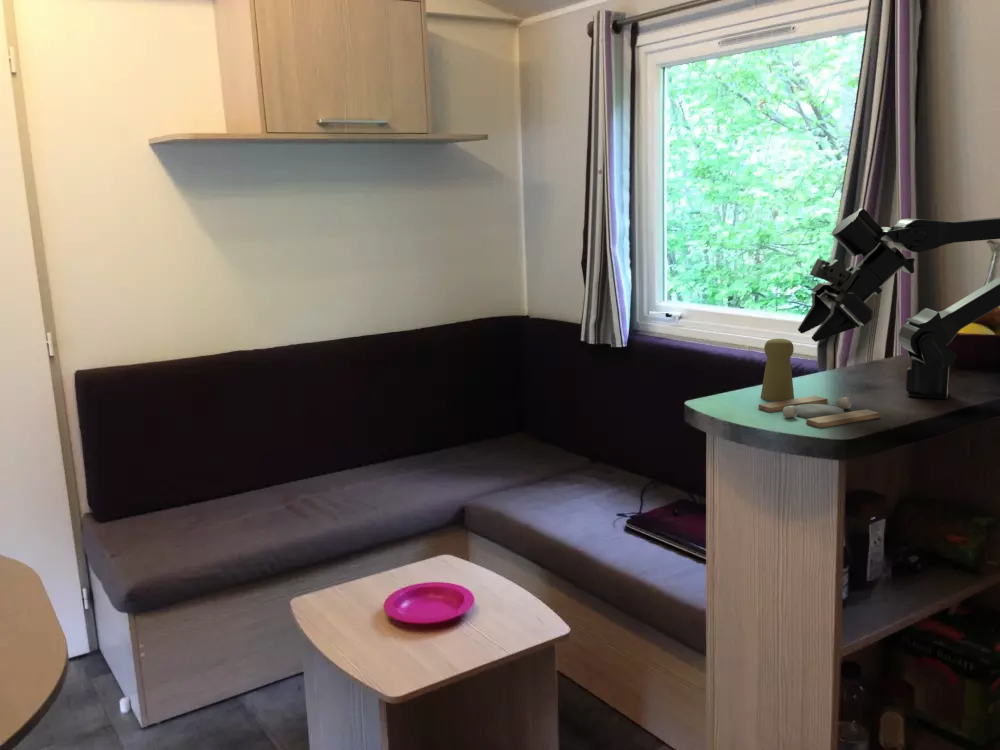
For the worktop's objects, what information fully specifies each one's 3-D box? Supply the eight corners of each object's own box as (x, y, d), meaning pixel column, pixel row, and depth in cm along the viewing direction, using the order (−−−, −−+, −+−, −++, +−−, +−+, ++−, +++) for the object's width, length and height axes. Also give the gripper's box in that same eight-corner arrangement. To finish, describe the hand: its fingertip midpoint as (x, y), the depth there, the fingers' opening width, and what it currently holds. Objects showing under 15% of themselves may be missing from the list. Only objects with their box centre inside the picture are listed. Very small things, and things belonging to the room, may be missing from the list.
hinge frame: (816, 399, 166) (816, 389, 165) (880, 417, 152) (880, 405, 152) (757, 408, 160) (757, 397, 160) (818, 428, 147) (818, 416, 147)
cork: (770, 402, 165) (772, 342, 163) (754, 395, 171) (756, 337, 168) (800, 399, 166) (802, 340, 164) (784, 392, 172) (786, 335, 170)
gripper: (825, 240, 171) (764, 299, 174) (857, 246, 153) (788, 312, 156) (865, 280, 172) (803, 338, 175) (902, 292, 154) (833, 356, 157)
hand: (806, 335), depth 166 cm, fingers open, 9 cm apart
